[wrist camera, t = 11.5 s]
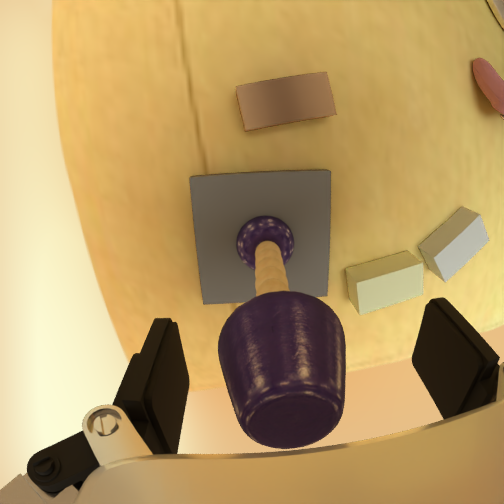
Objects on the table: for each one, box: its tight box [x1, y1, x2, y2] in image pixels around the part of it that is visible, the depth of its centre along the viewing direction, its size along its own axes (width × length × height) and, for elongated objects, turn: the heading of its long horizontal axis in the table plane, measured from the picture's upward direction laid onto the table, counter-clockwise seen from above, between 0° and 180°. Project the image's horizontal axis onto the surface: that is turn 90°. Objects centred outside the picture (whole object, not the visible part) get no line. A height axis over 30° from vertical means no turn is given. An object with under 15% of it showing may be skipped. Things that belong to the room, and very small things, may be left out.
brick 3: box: [418, 207, 489, 282], centre depth 24 cm, size 6×3×3 cm, turn 130°
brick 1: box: [236, 72, 337, 132], centre depth 20 cm, size 6×3×3 cm, turn 103°
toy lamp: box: [218, 216, 346, 449], centre depth 16 cm, size 5×5×17 cm
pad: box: [190, 170, 331, 304], centre depth 24 cm, size 10×10×1 cm
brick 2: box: [345, 251, 423, 315], centre depth 25 cm, size 6×3×3 cm, turn 104°
